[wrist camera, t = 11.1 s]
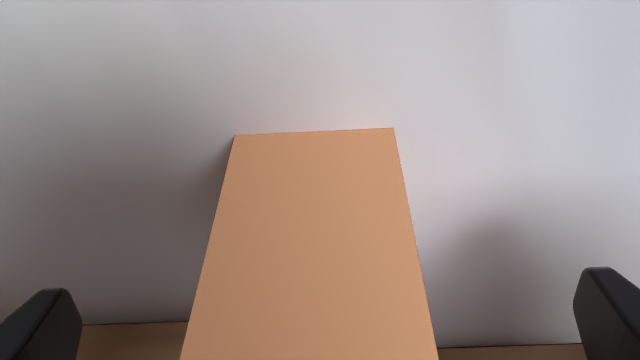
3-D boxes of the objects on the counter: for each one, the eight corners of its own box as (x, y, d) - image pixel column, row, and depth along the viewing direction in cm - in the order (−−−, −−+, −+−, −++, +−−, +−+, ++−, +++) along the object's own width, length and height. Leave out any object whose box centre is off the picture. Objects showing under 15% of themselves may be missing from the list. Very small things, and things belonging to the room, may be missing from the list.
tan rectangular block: (393, 127, 11) (446, 402, 6) (390, 245, 13) (430, 525, 8) (234, 135, 11) (166, 410, 6) (254, 250, 13) (214, 529, 8)
